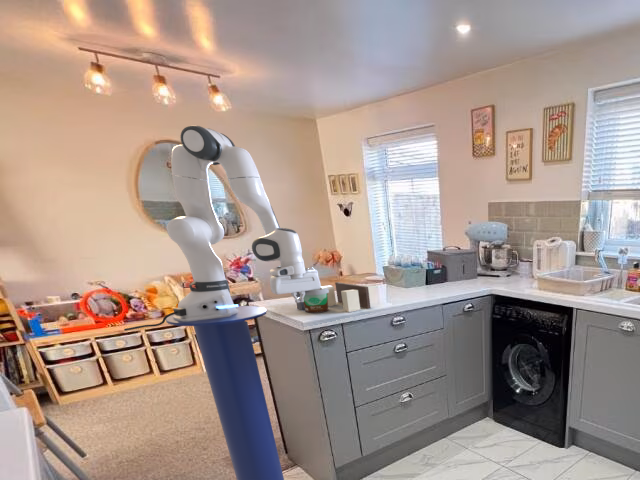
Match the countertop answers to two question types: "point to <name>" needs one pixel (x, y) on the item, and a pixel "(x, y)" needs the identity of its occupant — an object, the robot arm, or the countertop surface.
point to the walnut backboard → (362, 293)
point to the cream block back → (330, 295)
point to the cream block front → (350, 300)
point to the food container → (316, 300)
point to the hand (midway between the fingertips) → (299, 302)
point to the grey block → (301, 304)
